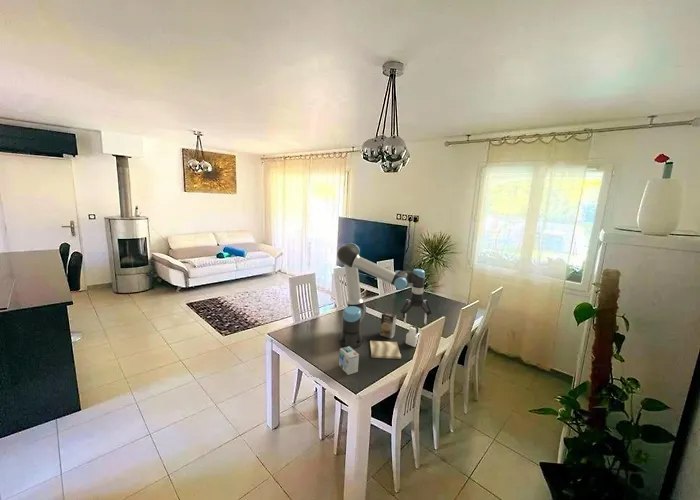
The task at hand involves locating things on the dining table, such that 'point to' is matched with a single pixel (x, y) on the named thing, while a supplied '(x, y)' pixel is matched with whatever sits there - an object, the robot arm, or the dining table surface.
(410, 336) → the medicine bottle
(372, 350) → the birch board
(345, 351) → the light bulb box
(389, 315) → the coffee box
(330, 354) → the dining table surface
